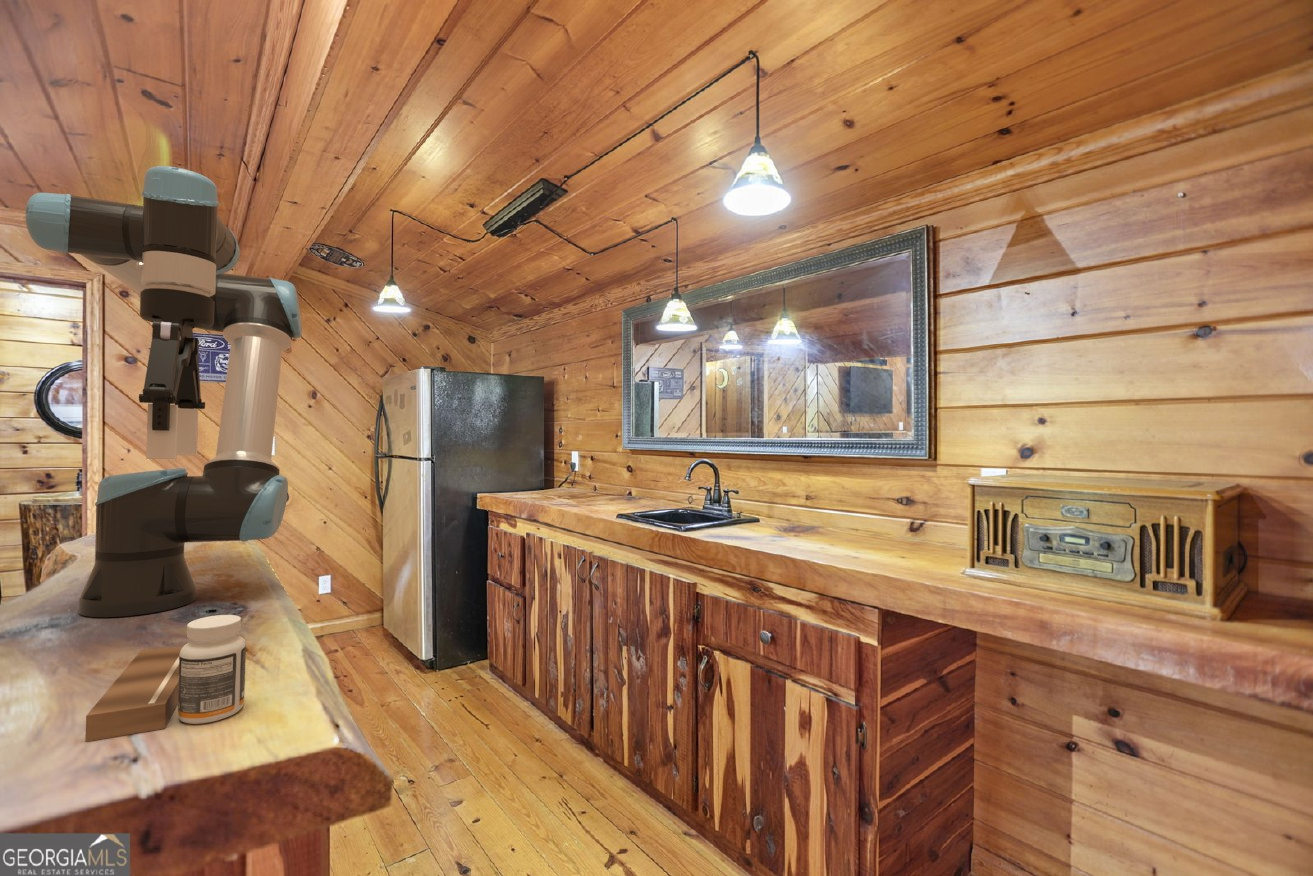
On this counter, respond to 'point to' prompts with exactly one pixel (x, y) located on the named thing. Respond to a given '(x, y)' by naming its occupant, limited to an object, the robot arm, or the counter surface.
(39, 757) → the counter surface
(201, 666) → the pill bottle
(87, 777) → the counter surface
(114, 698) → the plank
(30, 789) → the counter surface
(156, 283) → the robot arm
